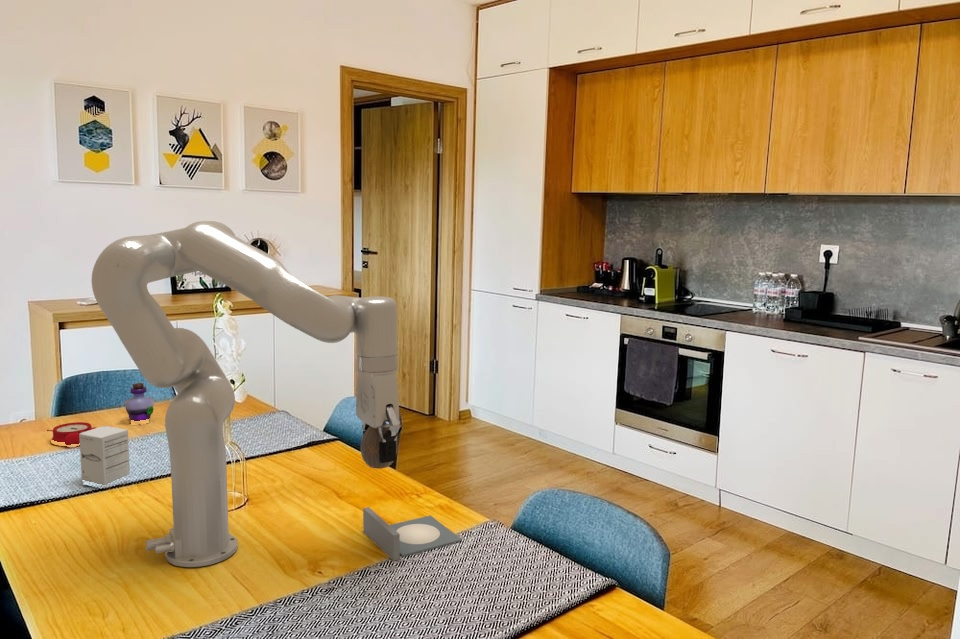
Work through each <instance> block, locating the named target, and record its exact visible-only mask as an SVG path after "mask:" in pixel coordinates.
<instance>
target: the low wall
mask: <svg viewBox="0 0 960 639" xmlns="http://www.w3.org/2000/svg"><path fill="white" fill-rule="evenodd" d="M362 509H363V510H362V511H363V515H362V516H363V517H362V518H363V519H362V521H363V522H362V524H363V525H362V528H363V529H362V531H363V533H364V534H365V535H366V536H367V537H368V538H369V539H370V540H371V541H372V542H373V543H374V544H375V545H376V546H377V547H378V548H379V549H381V550H382V551H383V553H385V555H387V556H388V557H389V558H390V559H391V561H393V562H394V561H399V560H400V554H399V543H400V534H399V533H398V532H397V531H396V530H394V529H393V528H392V527H391V526H390V525H391V524H389V523H388V522H386V521H385V520H384V519H383V518H382V517H381V516H380V515H378V513H376V512H375V511H374V510H373V509H371V507H369V506H367V507H363V508H362Z"/></svg>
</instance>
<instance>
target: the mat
mask: <svg viewBox="0 0 960 639" xmlns="http://www.w3.org/2000/svg"><path fill="white" fill-rule="evenodd" d="M389 525H390V526H391V527H392V528H393V529H394V530H396V531H397V532H398V533H399V534H400V543H399V556H400V557H402V558H404V557H408V556H412V555H416V554H420V553H424V552H427V551H426V550H428V551H431V550H434V549H433V548H435V549H439V548H442V547H441V546H443V547H446V546H445V545H447V546H449V544H450V545H453V544H452V543H454V544H456V543H455V542H458V543H461V542H460V541H462V542H463V539H462V538H461V537H460V536H458V535H456V534H455V533H454V532H453V531H451V529H449V528H448V527H446V526H445V525H444V524H442V523H441V522H440V521H439V520H438V519H436V518H434V517H433V516H432V515H426V516H422V517H418V518H417V517H416V518H413V519H409V520H405V521H404V520H403V521H401V522H396V523H392V524H389ZM438 547H439V548H438ZM430 549H431V550H430ZM423 551H424V552H423Z"/></svg>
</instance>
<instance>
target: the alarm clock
mask: <svg viewBox="0 0 960 639" xmlns="http://www.w3.org/2000/svg"><path fill="white" fill-rule="evenodd" d="M95 428H97V427H92V424H91V423H89V422H82V421H77V422H67V423H62V424H58V425H56V426H54V427H53V428H52V429H46V431H47V432H52V438H51V440H54V441H57V442H65V444H66V445H71V444H79V443H80V437H79V434H80V433H82V432H86V431H89V430H92V429H95Z"/></svg>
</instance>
